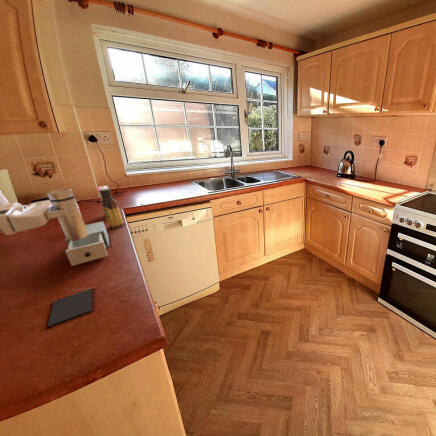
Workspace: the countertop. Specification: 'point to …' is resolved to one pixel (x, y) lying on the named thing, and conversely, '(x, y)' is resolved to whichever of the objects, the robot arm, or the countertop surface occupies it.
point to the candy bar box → (99, 190)
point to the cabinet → (96, 231)
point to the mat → (71, 307)
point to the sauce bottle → (111, 209)
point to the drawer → (86, 249)
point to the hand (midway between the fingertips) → (69, 208)
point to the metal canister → (73, 220)
